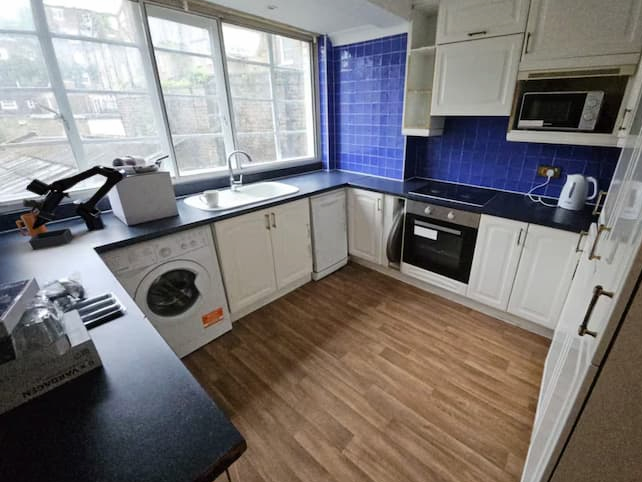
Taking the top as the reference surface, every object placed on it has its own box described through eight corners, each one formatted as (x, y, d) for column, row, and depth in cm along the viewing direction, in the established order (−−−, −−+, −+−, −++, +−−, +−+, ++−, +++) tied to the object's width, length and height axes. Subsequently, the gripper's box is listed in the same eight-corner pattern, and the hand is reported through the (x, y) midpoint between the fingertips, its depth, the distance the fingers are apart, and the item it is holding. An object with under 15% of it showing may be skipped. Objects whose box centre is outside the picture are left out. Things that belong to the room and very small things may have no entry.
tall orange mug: (51, 235, 154) (40, 211, 148) (48, 239, 149) (36, 215, 144) (28, 239, 149) (15, 215, 144) (23, 243, 144) (10, 218, 139)
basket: (73, 236, 152) (69, 228, 150) (67, 243, 143) (63, 235, 141) (40, 241, 146) (36, 233, 144) (33, 250, 137) (28, 241, 135)
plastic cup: (91, 222, 171) (82, 202, 166) (76, 221, 173) (67, 202, 168) (109, 216, 180) (101, 197, 176) (95, 215, 183) (87, 197, 178)
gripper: (27, 190, 148) (6, 216, 145) (35, 195, 138) (12, 224, 134) (55, 201, 157) (36, 226, 154) (64, 206, 147) (44, 234, 143)
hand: (31, 227), depth 146 cm, fingers closed on tall orange mug, 6 cm apart
